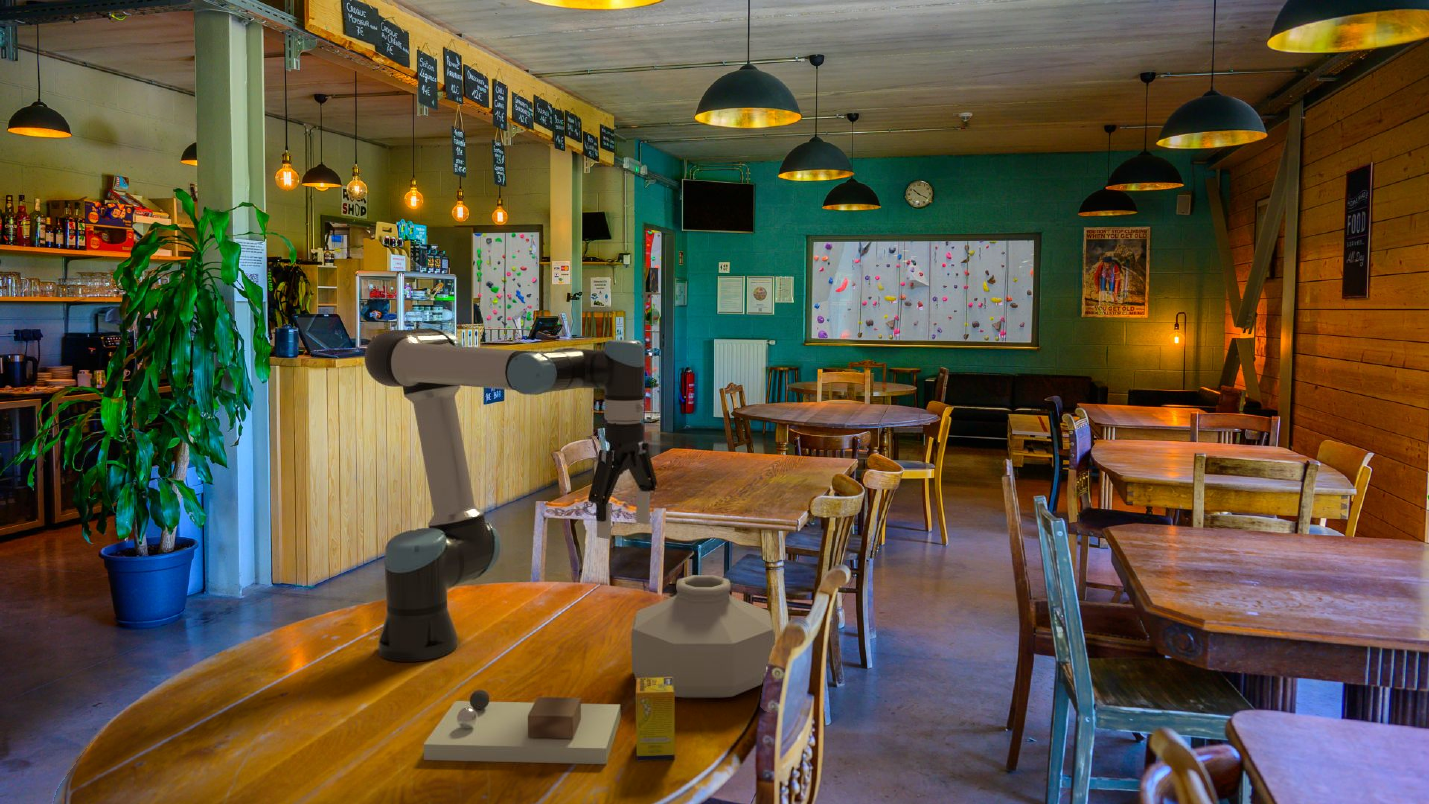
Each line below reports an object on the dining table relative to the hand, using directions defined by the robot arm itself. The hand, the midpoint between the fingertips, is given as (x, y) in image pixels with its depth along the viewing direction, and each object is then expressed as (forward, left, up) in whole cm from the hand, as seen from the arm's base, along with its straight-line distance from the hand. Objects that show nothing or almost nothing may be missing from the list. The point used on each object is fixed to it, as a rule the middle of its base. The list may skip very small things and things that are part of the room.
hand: (624, 530), depth 186 cm
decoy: (-20, -30, -22) cm, 42 cm away
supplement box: (+10, -38, -26) cm, 47 cm away
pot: (+16, -8, -26) cm, 32 cm away
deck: (-11, -35, -26) cm, 45 cm away
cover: (-6, -37, -23) cm, 44 cm away
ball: (-20, -37, -22) cm, 47 cm away
